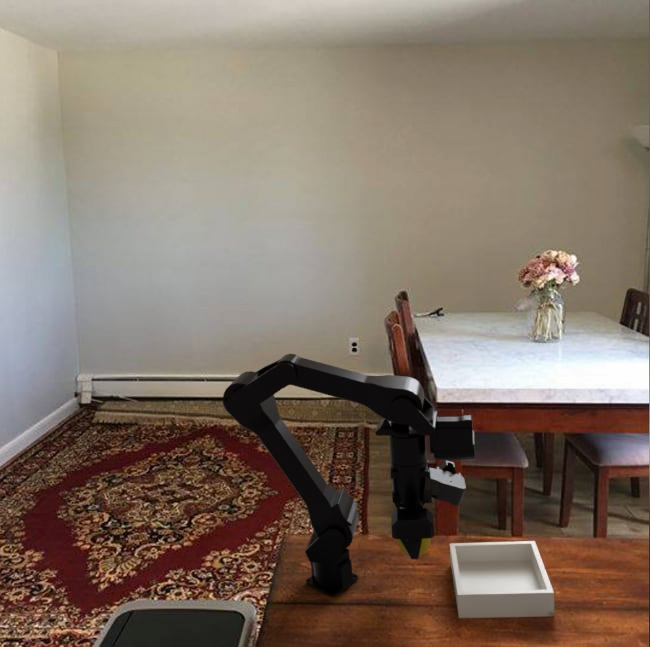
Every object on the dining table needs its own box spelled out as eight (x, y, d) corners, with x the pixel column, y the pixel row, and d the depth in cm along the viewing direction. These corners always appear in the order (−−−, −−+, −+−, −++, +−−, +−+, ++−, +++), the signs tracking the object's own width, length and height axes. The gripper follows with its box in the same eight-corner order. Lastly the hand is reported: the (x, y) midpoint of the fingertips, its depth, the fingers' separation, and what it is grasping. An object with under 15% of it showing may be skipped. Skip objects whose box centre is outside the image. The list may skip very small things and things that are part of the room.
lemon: (401, 546, 116) (398, 503, 114) (434, 549, 114) (432, 505, 112) (394, 565, 111) (391, 520, 109) (429, 569, 109) (426, 523, 107)
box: (458, 618, 105) (457, 594, 104) (450, 564, 118) (449, 543, 117) (554, 616, 103) (554, 592, 102) (535, 562, 117) (534, 540, 116)
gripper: (467, 484, 99) (471, 582, 102) (455, 432, 117) (459, 517, 120) (388, 487, 100) (395, 583, 103) (388, 436, 118) (394, 519, 121)
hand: (414, 548), depth 112 cm, fingers closed on lemon, 5 cm apart
